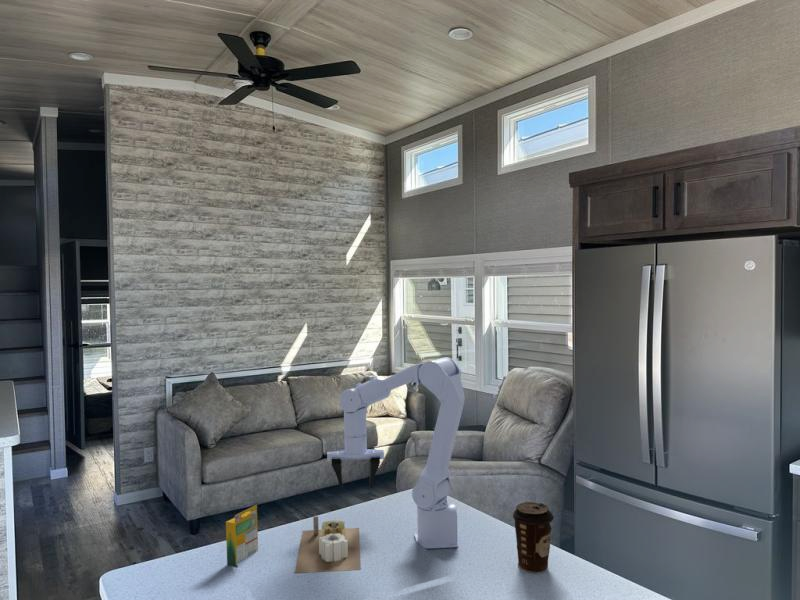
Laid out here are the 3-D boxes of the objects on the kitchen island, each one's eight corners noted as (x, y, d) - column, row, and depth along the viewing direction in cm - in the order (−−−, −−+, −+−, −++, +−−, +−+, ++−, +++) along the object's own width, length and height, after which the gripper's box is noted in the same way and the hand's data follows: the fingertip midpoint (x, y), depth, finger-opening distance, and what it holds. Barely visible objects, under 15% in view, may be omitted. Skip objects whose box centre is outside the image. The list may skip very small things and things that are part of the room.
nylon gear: (340, 548, 136) (339, 531, 135) (348, 558, 131) (348, 540, 131) (318, 553, 133) (317, 536, 133) (326, 563, 128) (326, 545, 128)
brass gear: (344, 536, 142) (344, 519, 142) (344, 545, 137) (344, 528, 137) (322, 537, 142) (322, 520, 142) (321, 546, 137) (321, 529, 137)
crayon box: (249, 551, 137) (248, 502, 137) (258, 554, 136) (257, 504, 135) (226, 565, 131) (225, 513, 130) (236, 567, 129) (235, 515, 129)
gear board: (359, 531, 147) (358, 510, 147) (360, 574, 125) (360, 548, 125) (302, 534, 146) (302, 512, 146) (294, 577, 124) (294, 552, 124)
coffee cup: (555, 561, 130) (555, 502, 130) (552, 578, 122) (552, 516, 122) (516, 555, 133) (515, 498, 133) (510, 572, 125) (510, 512, 125)
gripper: (382, 430, 155) (383, 481, 156) (327, 432, 154) (328, 483, 154) (384, 436, 148) (385, 490, 149) (326, 438, 147) (327, 492, 147)
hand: (356, 487), depth 151 cm, fingers open, 7 cm apart
